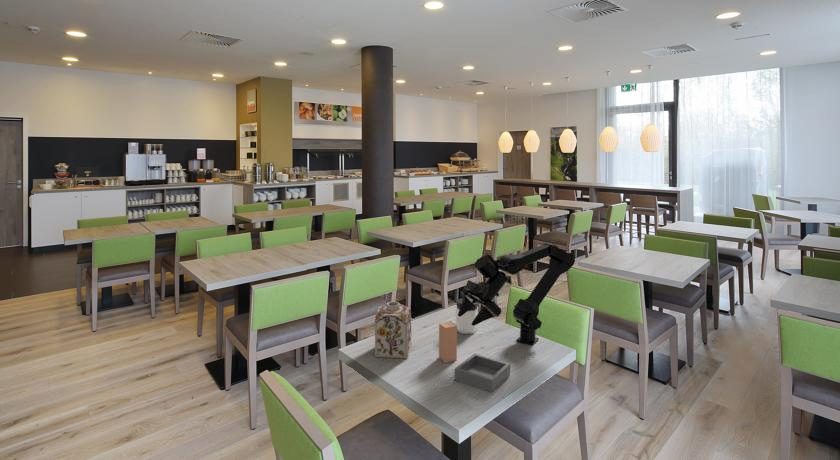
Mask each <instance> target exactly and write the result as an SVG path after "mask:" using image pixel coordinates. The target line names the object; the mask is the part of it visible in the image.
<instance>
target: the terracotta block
mask: <svg viewBox="0 0 840 460" xmlns="http://www.w3.org/2000/svg"><path fill="white" fill-rule="evenodd" d="M438 341H439V342H438V358H439V359H441V361H443V362H444V363H449V362H454V361H457V360H458V358H457V357H458V356H457V355H458V354H457V353H458V352H457V349H458V348H457V346H458V331H457V325H456V323H454V322H452V321H450V320H448V321H444V322H439V323H438Z"/></svg>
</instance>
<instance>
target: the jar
mask: <svg viewBox="0 0 840 460" xmlns="http://www.w3.org/2000/svg"><path fill="white" fill-rule="evenodd" d="M462 301H463V299H462V298H459V299H457V300H456V307H455V325H457V333H461V334H463V335H464V334H465V335H466V334H475V333H476V332H477V331H478V329H479V328H478V327H479V326H478V325H479V324H477V325H474V326H473V325H472V322H473V320H474V319H475V317H476V316H477V314H478V313H479V307H478V302H477V303H473V304H474V305H475V306H473V307H472V308H471V309H470V310H468V311H467V312H466V313H465V314H463V315H462V316H461V317H459V316H458V313H459V310H460V307H461V305H462Z"/></svg>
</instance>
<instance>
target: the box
mask: <svg viewBox="0 0 840 460" xmlns="http://www.w3.org/2000/svg"><path fill="white" fill-rule="evenodd" d="M509 376H511V363H509V362H505V361H502V360H498V359H494V358H493V357H487V356H484V355H480V354H477V353H473V354H472V355H471V356H469V357H468V358H466V359H465V360H463V362H462V363H459V364H458V365H457V366H456V367H455V368H454V381H457V382H460V383H462V384H465V385H469V386H472V387H475V388H479V389H480V390H481V389H482V390H484V391H487V392H490V393H493V392H494V391H495V390H496V389H498V387H499V386H500V385H501V384H503V382H504V381H505V380H506V379H507V378H508V377H509Z"/></svg>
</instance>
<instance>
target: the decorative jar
mask: <svg viewBox="0 0 840 460" xmlns="http://www.w3.org/2000/svg"><path fill="white" fill-rule="evenodd" d="M411 348H412V311H411V309H410V308H409V307H408V306H406V305H404V304H401V303H400V302H398V301H389V302H386V304H384V305H381V306H379V307H378V308H377V310H376V315H375V319H374V353H375V354H374V355H375V357H376V358H386V359H387V358H390V359H406V360H407V359H408V358H409V355H410V351H411Z"/></svg>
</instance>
